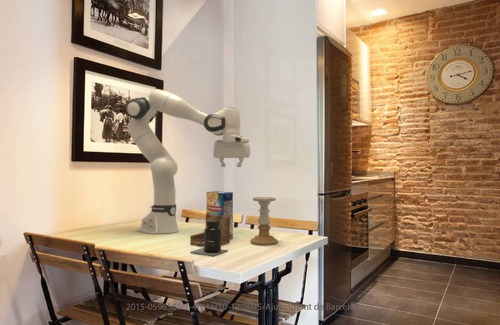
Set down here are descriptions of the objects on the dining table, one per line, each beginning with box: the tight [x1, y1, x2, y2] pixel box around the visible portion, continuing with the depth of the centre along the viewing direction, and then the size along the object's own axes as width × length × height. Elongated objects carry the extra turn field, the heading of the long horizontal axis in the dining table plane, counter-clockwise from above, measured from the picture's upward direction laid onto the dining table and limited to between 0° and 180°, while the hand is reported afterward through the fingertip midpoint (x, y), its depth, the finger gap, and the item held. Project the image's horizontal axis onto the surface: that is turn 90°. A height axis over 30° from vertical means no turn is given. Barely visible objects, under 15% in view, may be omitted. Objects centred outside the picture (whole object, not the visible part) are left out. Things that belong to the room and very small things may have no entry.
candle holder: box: [250, 196, 279, 246], centre depth 164 cm, size 12×12×20 cm
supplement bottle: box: [203, 220, 222, 253], centre depth 144 cm, size 7×7×12 cm
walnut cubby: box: [189, 214, 231, 248], centre depth 160 cm, size 12×12×12 cm
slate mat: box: [190, 247, 228, 257], centre depth 144 cm, size 11×10×1 cm
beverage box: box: [205, 190, 234, 240], centre depth 173 cm, size 7×11×22 cm, turn 52°
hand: (231, 166), depth 182 cm, fingers open, 8 cm apart
